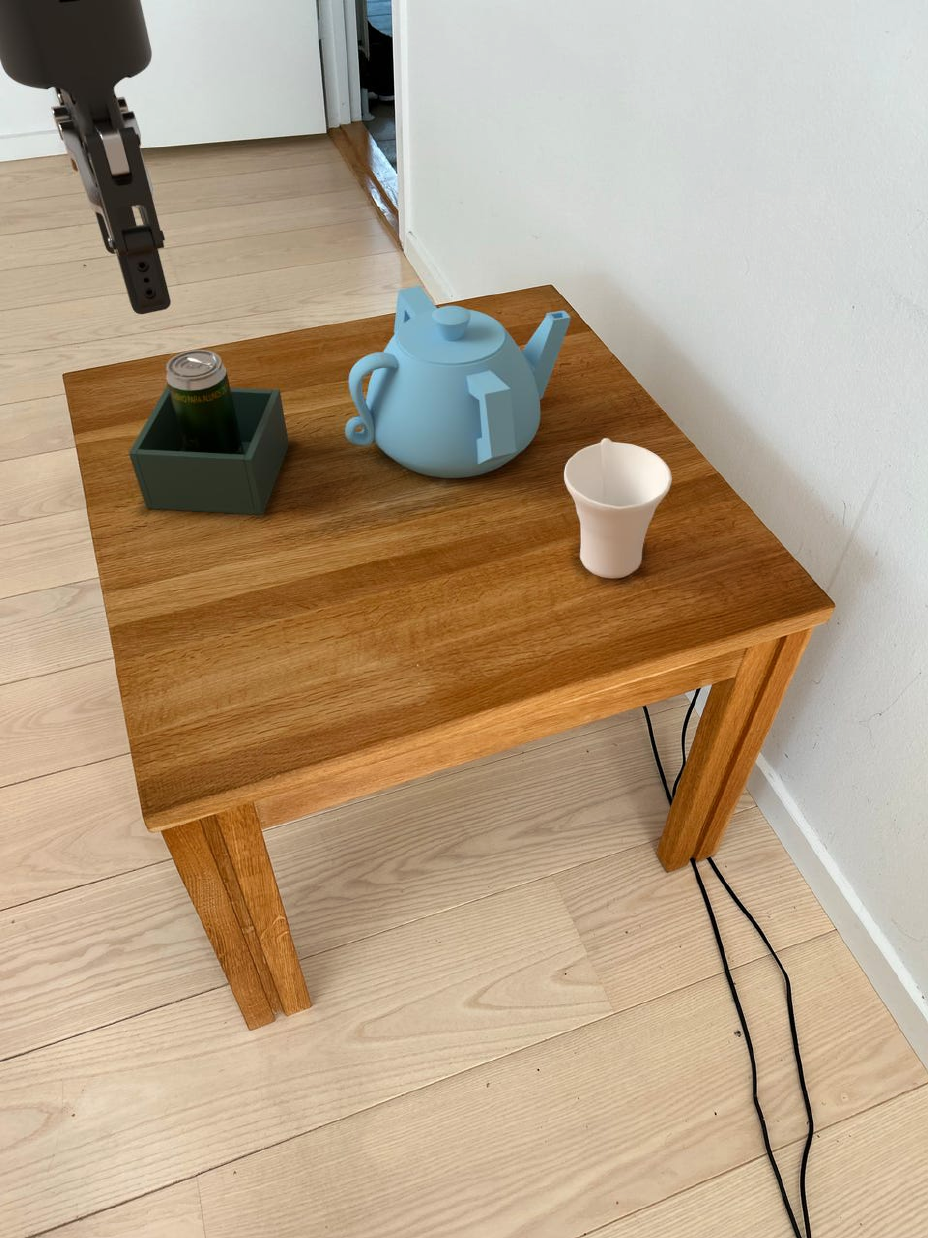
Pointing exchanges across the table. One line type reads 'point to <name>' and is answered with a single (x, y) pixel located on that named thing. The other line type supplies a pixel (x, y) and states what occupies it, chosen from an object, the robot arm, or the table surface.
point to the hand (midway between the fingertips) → (137, 278)
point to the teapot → (453, 388)
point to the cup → (615, 503)
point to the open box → (212, 459)
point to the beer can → (203, 403)
